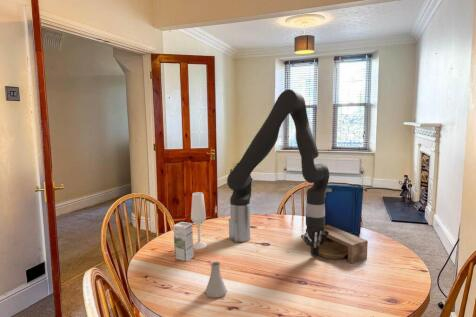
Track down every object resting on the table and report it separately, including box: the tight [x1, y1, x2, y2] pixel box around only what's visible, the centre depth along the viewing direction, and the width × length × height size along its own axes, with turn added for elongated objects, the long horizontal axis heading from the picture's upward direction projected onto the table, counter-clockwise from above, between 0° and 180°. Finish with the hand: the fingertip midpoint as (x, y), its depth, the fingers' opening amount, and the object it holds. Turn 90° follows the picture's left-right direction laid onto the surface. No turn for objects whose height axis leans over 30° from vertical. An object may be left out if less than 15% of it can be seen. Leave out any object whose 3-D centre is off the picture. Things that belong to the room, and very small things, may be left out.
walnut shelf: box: [321, 225, 369, 264], centre depth 131 cm, size 8×22×8 cm, turn 28°
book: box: [325, 181, 364, 236], centre depth 151 cm, size 22×7×25 cm, turn 84°
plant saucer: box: [318, 241, 348, 260], centre depth 130 cm, size 15×15×3 cm
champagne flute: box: [190, 191, 208, 250], centre depth 138 cm, size 7×7×24 cm
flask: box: [204, 261, 228, 299], centre depth 101 cm, size 7×7×10 cm
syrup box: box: [173, 221, 194, 262], centre depth 126 cm, size 6×6×14 cm
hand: (314, 255), depth 126 cm, fingers closed
